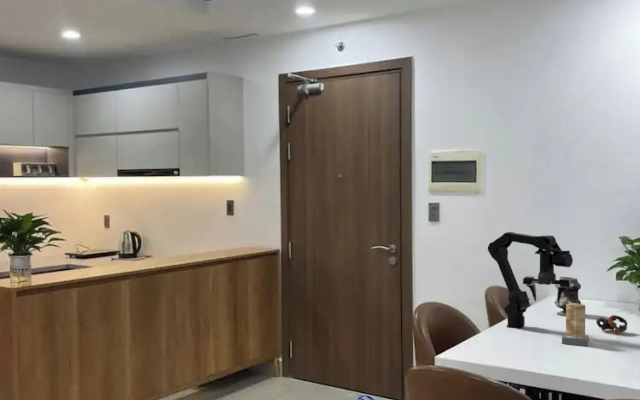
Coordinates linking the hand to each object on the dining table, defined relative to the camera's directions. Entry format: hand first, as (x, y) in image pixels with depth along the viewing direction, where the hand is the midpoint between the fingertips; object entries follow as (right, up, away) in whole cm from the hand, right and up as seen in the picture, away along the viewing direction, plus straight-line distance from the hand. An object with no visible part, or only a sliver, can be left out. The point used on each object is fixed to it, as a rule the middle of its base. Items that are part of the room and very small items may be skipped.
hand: (546, 301), depth 277 cm
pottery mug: (+28, -13, 0) cm, 31 cm away
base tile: (+5, -13, -18) cm, 23 cm away
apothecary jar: (+24, -13, +40) cm, 48 cm away
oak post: (+5, -11, -18) cm, 22 cm away
